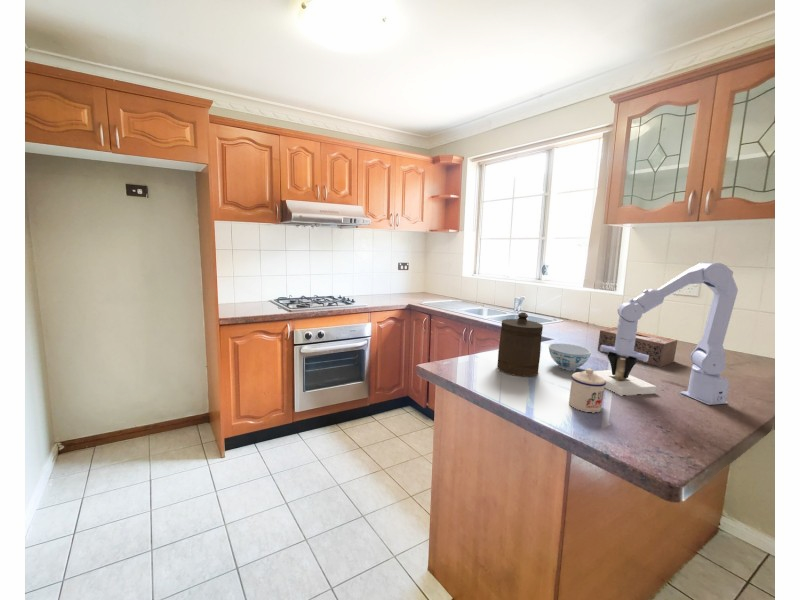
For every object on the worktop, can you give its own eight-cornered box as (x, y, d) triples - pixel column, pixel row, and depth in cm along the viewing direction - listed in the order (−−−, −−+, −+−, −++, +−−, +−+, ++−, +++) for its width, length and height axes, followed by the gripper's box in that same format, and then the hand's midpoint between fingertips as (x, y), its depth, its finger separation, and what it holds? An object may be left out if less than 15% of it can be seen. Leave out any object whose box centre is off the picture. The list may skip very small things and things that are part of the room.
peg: (625, 382, 129) (629, 359, 128) (622, 383, 127) (626, 361, 126) (615, 379, 132) (619, 357, 131) (612, 381, 130) (616, 358, 128)
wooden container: (529, 364, 148) (535, 309, 145) (544, 377, 134) (551, 317, 130) (492, 362, 148) (497, 308, 144) (503, 376, 133) (509, 316, 130)
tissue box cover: (597, 351, 174) (600, 330, 172) (612, 347, 182) (614, 327, 181) (660, 367, 153) (664, 344, 152) (673, 362, 162) (677, 339, 160)
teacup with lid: (589, 416, 104) (595, 376, 103) (561, 403, 112) (565, 366, 110) (614, 408, 110) (619, 370, 109) (585, 396, 118) (590, 361, 116)
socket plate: (655, 393, 124) (656, 386, 123) (620, 395, 120) (621, 388, 120) (616, 376, 139) (617, 369, 139) (585, 377, 136) (585, 371, 135)
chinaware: (597, 372, 142) (600, 353, 141) (567, 376, 137) (569, 355, 135) (566, 360, 156) (569, 342, 155) (538, 363, 150) (540, 344, 149)
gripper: (653, 341, 124) (647, 380, 126) (607, 331, 135) (602, 367, 137) (647, 344, 120) (640, 384, 122) (599, 334, 130) (594, 371, 132)
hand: (620, 376), depth 129 cm, fingers closed on peg, 3 cm apart
